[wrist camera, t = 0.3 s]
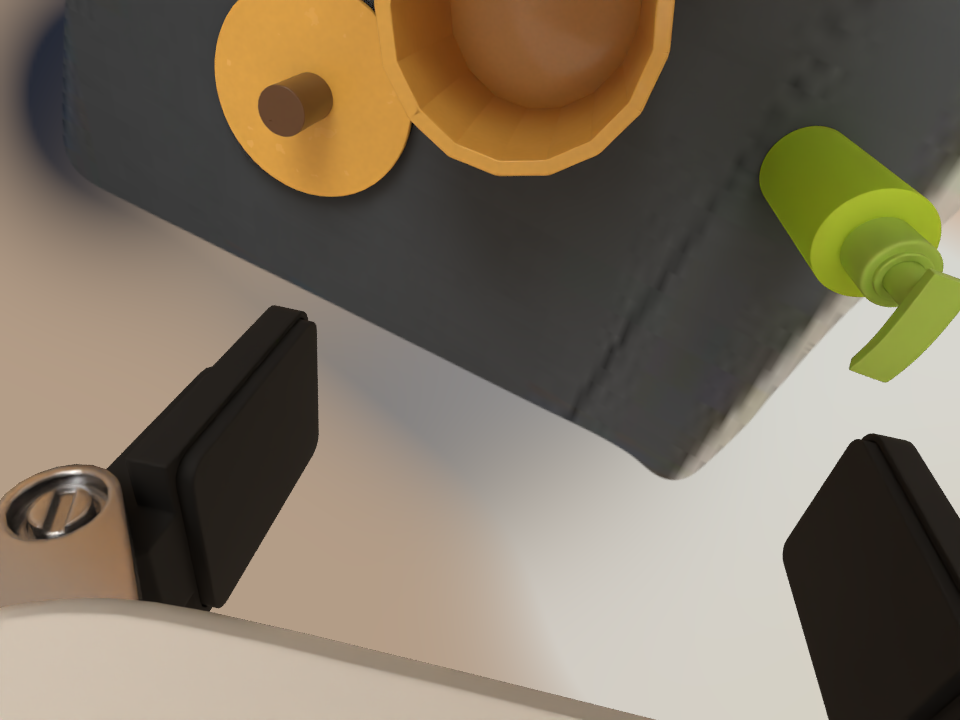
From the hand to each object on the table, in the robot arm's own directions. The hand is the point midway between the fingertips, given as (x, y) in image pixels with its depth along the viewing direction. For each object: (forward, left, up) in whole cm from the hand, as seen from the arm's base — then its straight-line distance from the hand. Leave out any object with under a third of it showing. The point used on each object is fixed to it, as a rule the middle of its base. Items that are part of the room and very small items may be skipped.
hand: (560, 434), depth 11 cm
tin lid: (-7, -18, -36) cm, 41 cm away
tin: (-5, -1, -37) cm, 37 cm away
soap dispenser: (+12, +11, -37) cm, 40 cm away
